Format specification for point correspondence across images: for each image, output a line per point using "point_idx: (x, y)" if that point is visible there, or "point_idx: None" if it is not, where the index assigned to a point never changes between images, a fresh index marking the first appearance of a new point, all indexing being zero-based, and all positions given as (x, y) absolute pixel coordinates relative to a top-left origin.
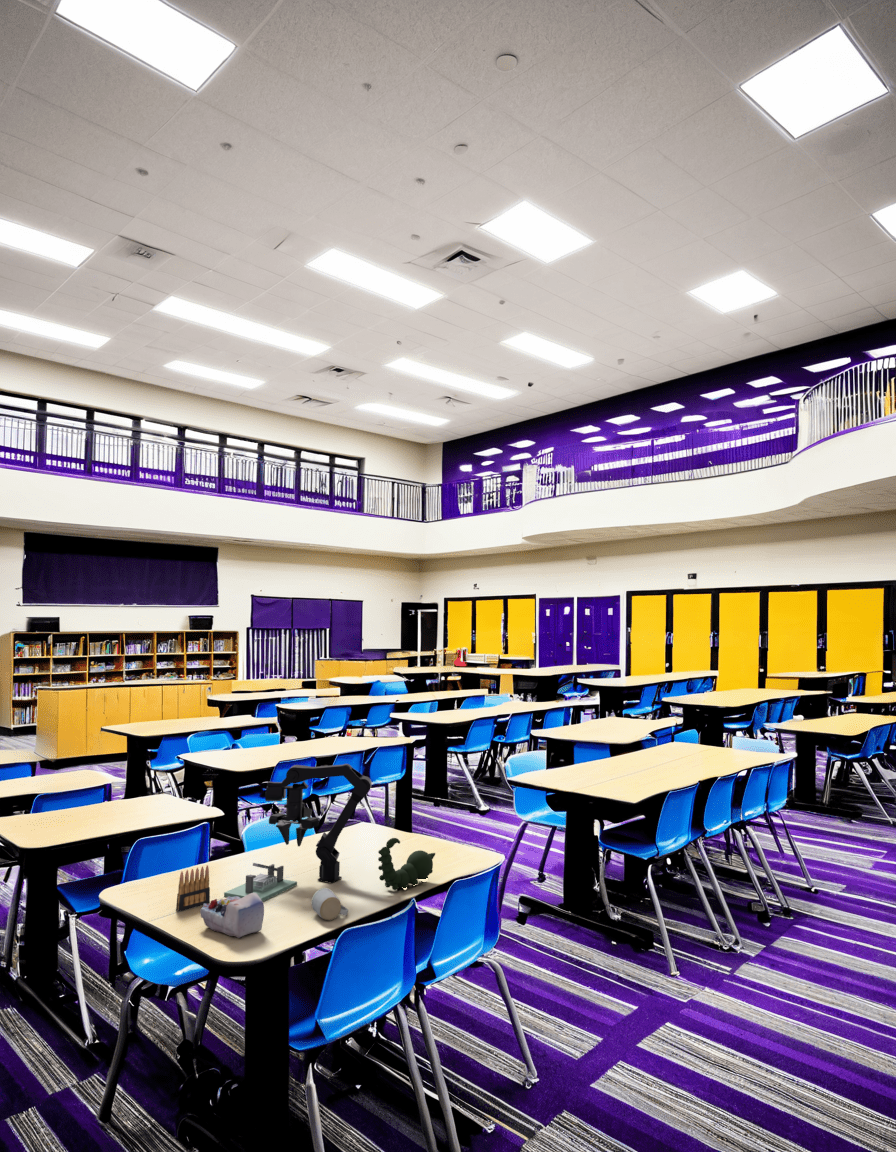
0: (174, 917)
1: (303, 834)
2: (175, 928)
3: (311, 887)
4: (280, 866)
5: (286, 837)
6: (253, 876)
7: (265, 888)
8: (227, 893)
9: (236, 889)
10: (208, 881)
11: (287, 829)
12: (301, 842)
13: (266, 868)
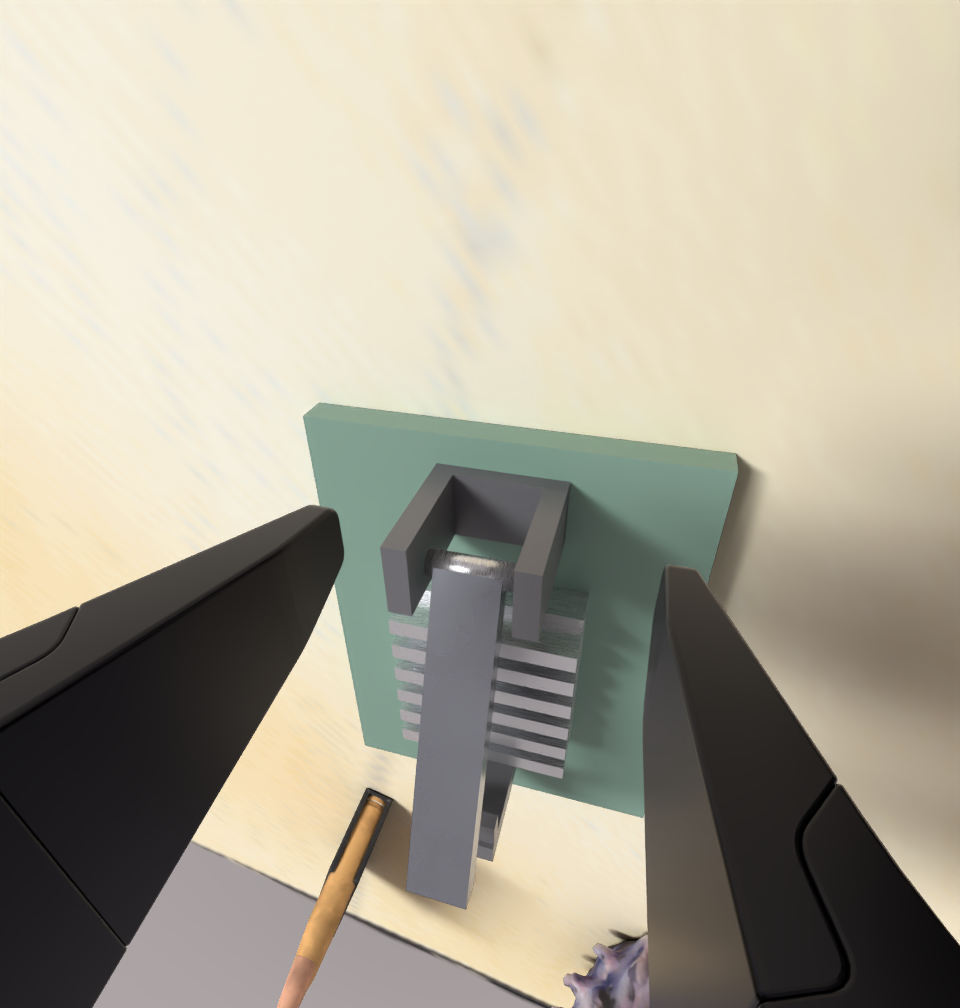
0: (398, 897)
1: (870, 932)
2: (485, 959)
3: (950, 472)
4: (522, 600)
5: (242, 692)
6: (494, 846)
7: (573, 710)
8: (389, 749)
9: (384, 703)
10: (339, 922)
11: (10, 856)
12: (731, 627)
13: (486, 763)
